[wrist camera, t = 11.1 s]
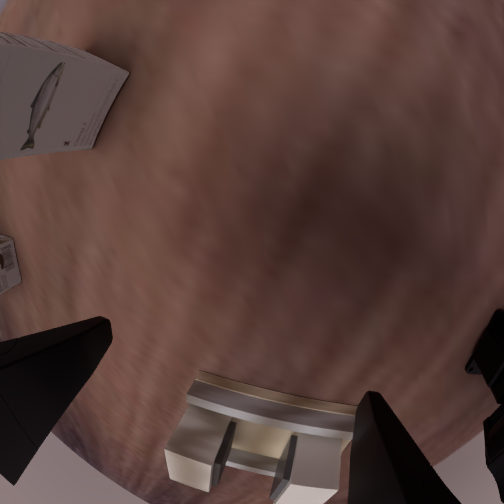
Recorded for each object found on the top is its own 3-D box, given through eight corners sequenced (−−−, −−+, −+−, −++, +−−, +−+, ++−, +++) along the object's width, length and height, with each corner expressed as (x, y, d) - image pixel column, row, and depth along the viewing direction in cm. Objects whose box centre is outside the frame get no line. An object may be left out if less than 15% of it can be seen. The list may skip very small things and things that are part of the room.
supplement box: (93, 151, 21) (-40, 174, 9) (52, 117, 20) (-60, 127, 9) (134, 72, 18) (-5, 43, 6) (85, 47, 18) (-30, 27, 6)
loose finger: (341, 428, 23) (338, 489, 16) (318, 461, 25) (311, 513, 19) (295, 420, 23) (283, 482, 17) (278, 454, 26) (266, 506, 19)
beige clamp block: (366, 407, 23) (369, 480, 15) (327, 463, 27) (320, 520, 19) (199, 370, 25) (162, 435, 18) (197, 433, 29) (171, 485, 22)
